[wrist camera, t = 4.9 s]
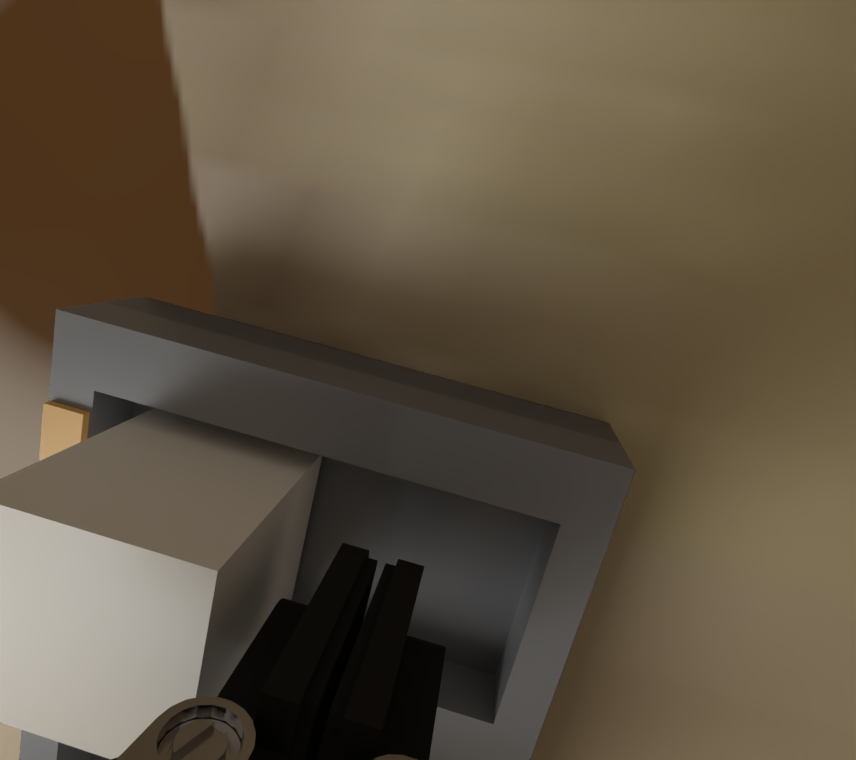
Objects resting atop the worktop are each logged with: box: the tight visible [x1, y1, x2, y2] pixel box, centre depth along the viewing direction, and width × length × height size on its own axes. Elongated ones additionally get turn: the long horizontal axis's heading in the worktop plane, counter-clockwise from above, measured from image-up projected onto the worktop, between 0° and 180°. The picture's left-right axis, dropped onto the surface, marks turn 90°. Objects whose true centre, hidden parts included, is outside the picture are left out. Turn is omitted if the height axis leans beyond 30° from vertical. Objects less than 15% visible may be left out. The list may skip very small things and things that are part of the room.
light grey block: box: [0, 408, 322, 759], centre depth 11 cm, size 4×4×5 cm
